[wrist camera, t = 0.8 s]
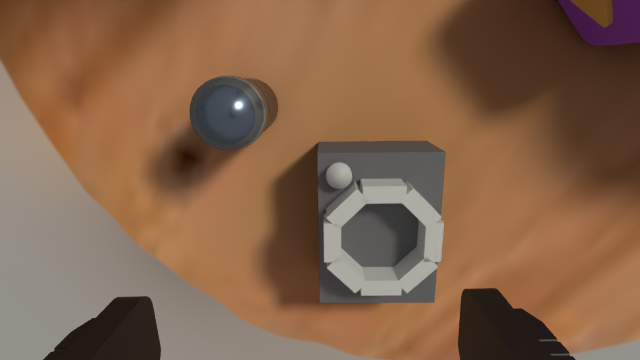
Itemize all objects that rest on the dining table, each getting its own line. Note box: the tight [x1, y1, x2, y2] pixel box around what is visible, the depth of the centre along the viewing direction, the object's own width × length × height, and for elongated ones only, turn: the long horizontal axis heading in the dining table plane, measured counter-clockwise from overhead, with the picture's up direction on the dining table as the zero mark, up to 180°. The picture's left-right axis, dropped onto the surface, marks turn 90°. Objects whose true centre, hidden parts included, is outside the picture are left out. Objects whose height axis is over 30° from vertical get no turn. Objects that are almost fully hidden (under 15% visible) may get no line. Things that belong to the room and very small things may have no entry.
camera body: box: [318, 141, 446, 303], centre depth 29 cm, size 12×9×7 cm
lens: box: [190, 76, 278, 150], centre depth 26 cm, size 5×5×8 cm
